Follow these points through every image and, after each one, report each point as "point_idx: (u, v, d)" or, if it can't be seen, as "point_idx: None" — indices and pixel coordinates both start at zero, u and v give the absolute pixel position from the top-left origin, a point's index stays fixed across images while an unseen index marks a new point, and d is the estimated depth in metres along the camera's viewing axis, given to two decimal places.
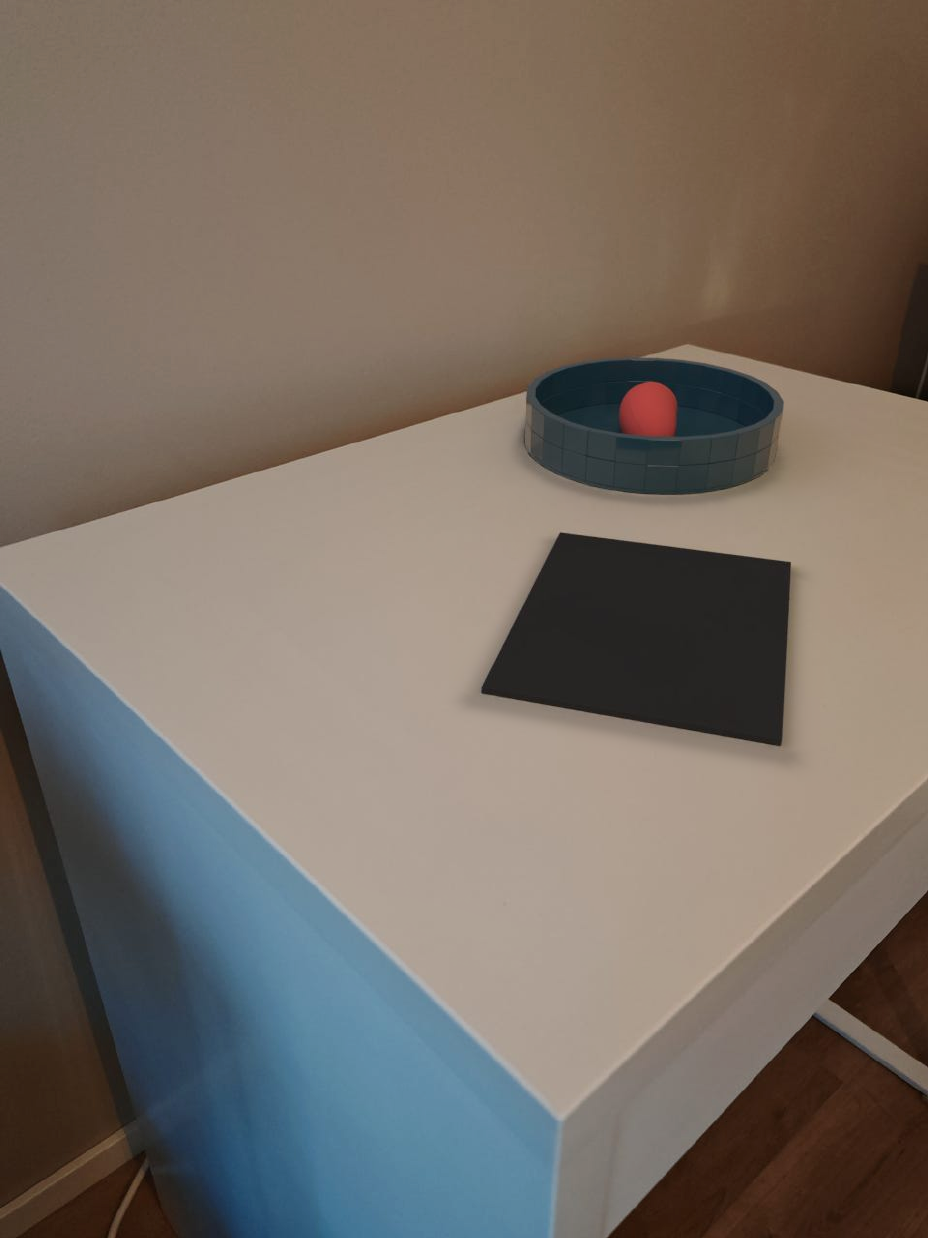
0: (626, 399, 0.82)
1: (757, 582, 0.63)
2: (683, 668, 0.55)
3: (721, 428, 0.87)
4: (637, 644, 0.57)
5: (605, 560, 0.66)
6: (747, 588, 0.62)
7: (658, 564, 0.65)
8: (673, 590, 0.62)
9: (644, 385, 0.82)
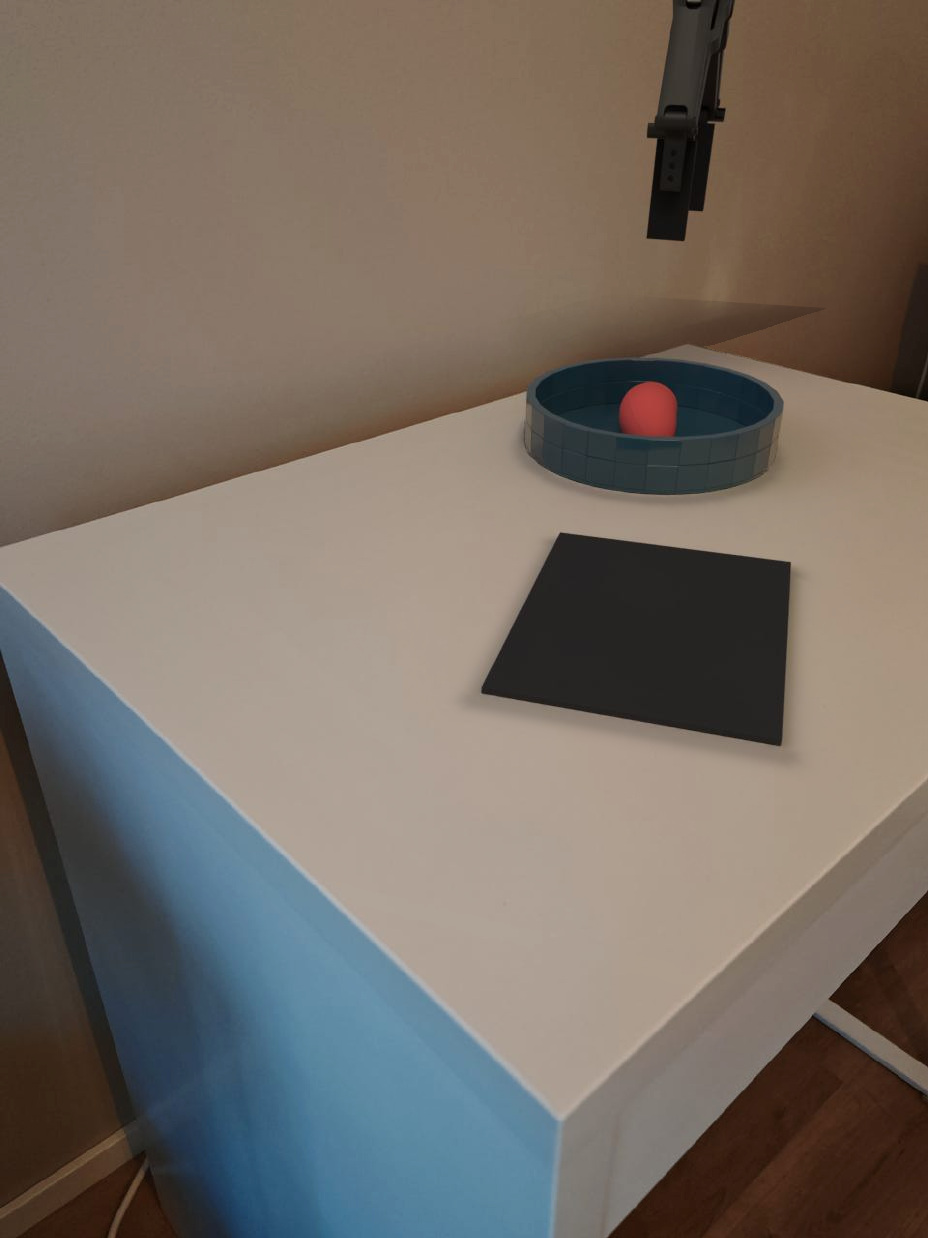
0: (626, 399, 0.82)
1: (757, 582, 0.63)
2: (683, 668, 0.55)
3: (721, 428, 0.87)
4: (637, 644, 0.57)
5: (605, 560, 0.66)
6: (747, 588, 0.62)
7: (658, 564, 0.65)
8: (673, 590, 0.62)
9: (644, 385, 0.82)
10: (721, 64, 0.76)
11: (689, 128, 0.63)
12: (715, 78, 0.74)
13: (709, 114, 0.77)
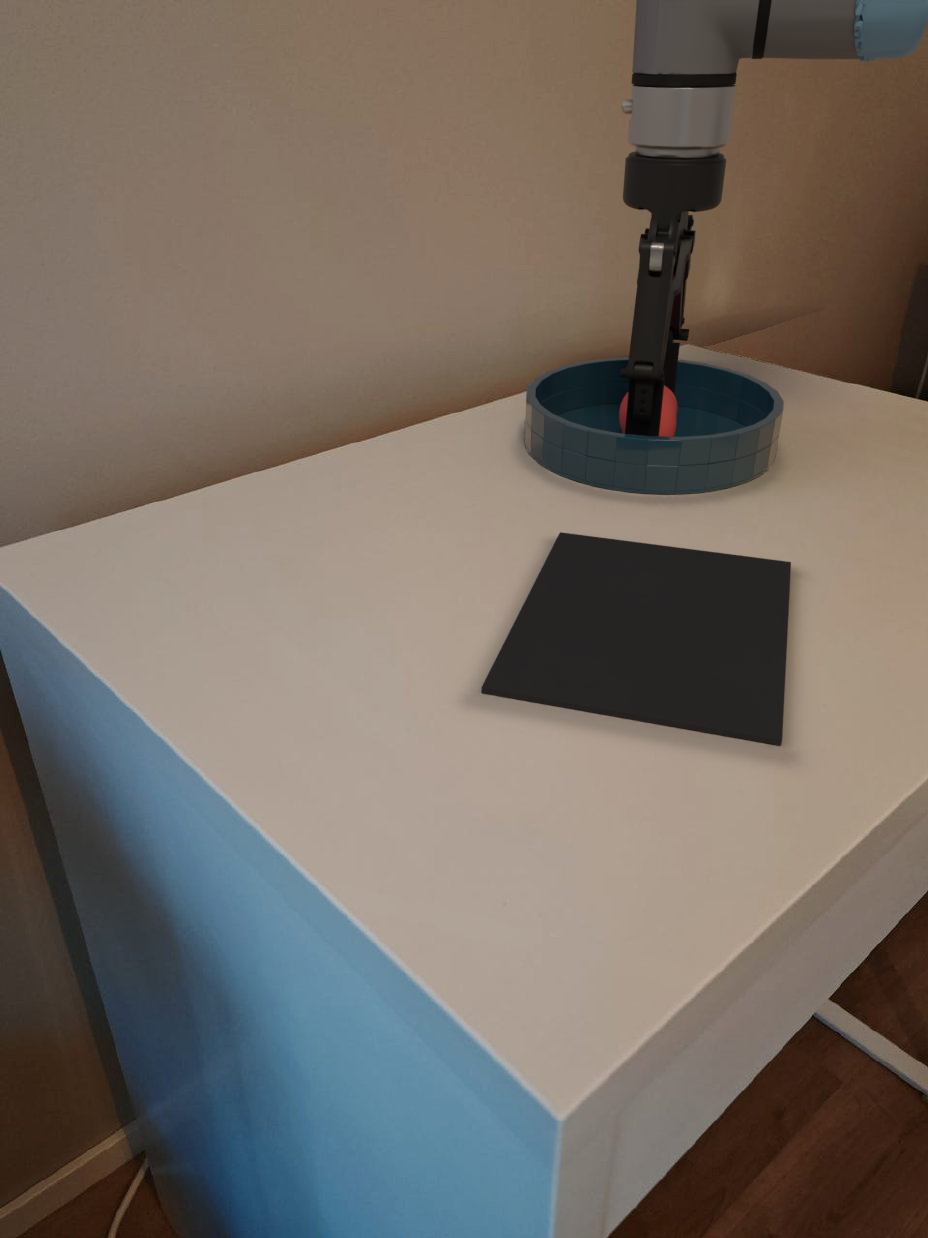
0: (626, 399, 0.82)
1: (757, 582, 0.63)
2: (683, 668, 0.55)
3: (721, 428, 0.87)
4: (637, 644, 0.57)
5: (605, 560, 0.66)
6: (747, 588, 0.62)
7: (658, 564, 0.65)
8: (673, 590, 0.62)
9: None
10: (684, 288, 0.84)
11: (656, 378, 0.74)
12: (679, 303, 0.82)
13: (674, 335, 0.85)
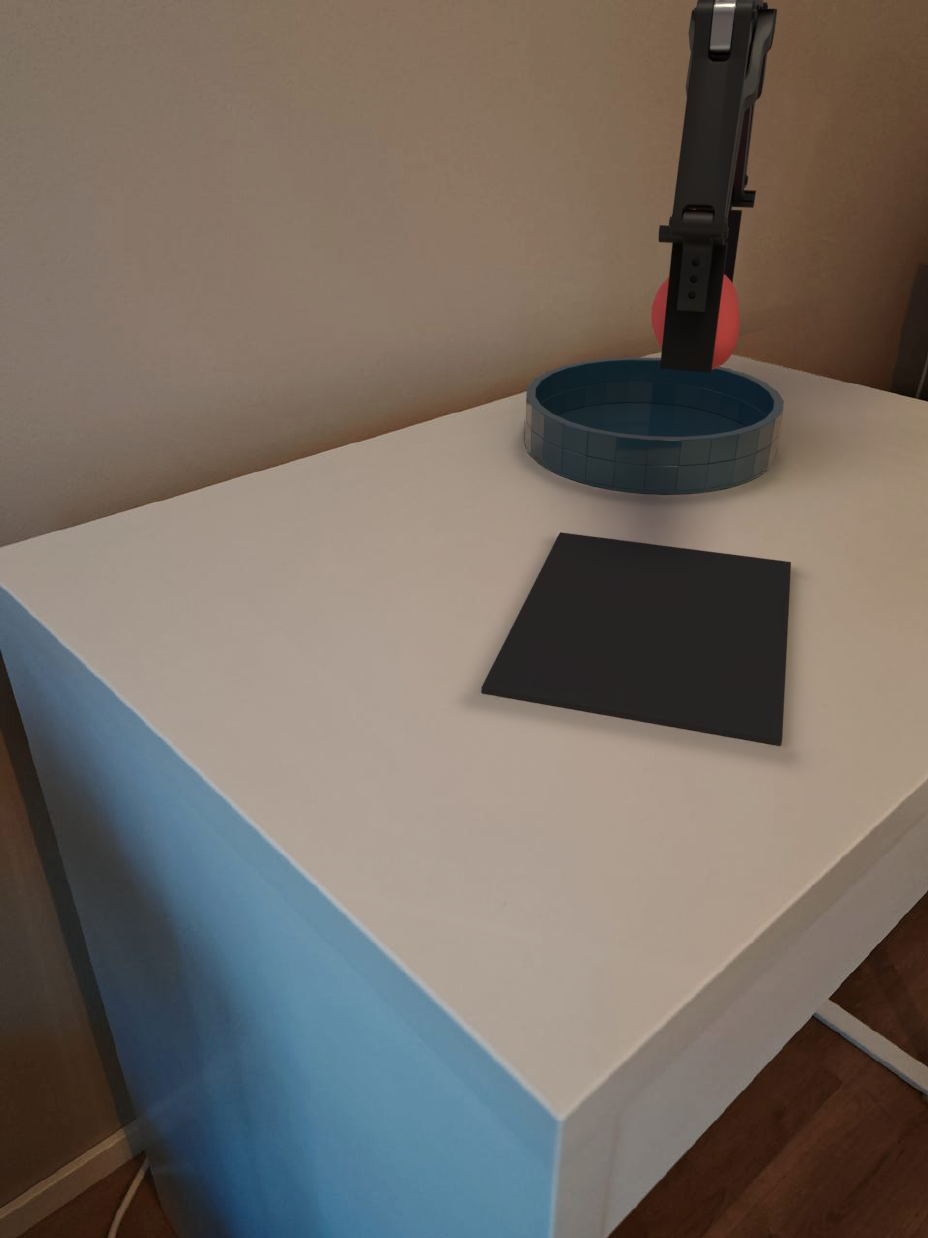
0: (664, 289, 0.54)
1: (757, 582, 0.63)
2: (683, 668, 0.55)
3: (721, 428, 0.87)
4: (637, 644, 0.57)
5: (605, 560, 0.66)
6: (747, 588, 0.62)
7: (658, 564, 0.65)
8: (673, 590, 0.62)
9: None
10: (751, 125, 0.56)
11: (717, 235, 0.46)
12: (744, 142, 0.54)
13: (734, 198, 0.57)
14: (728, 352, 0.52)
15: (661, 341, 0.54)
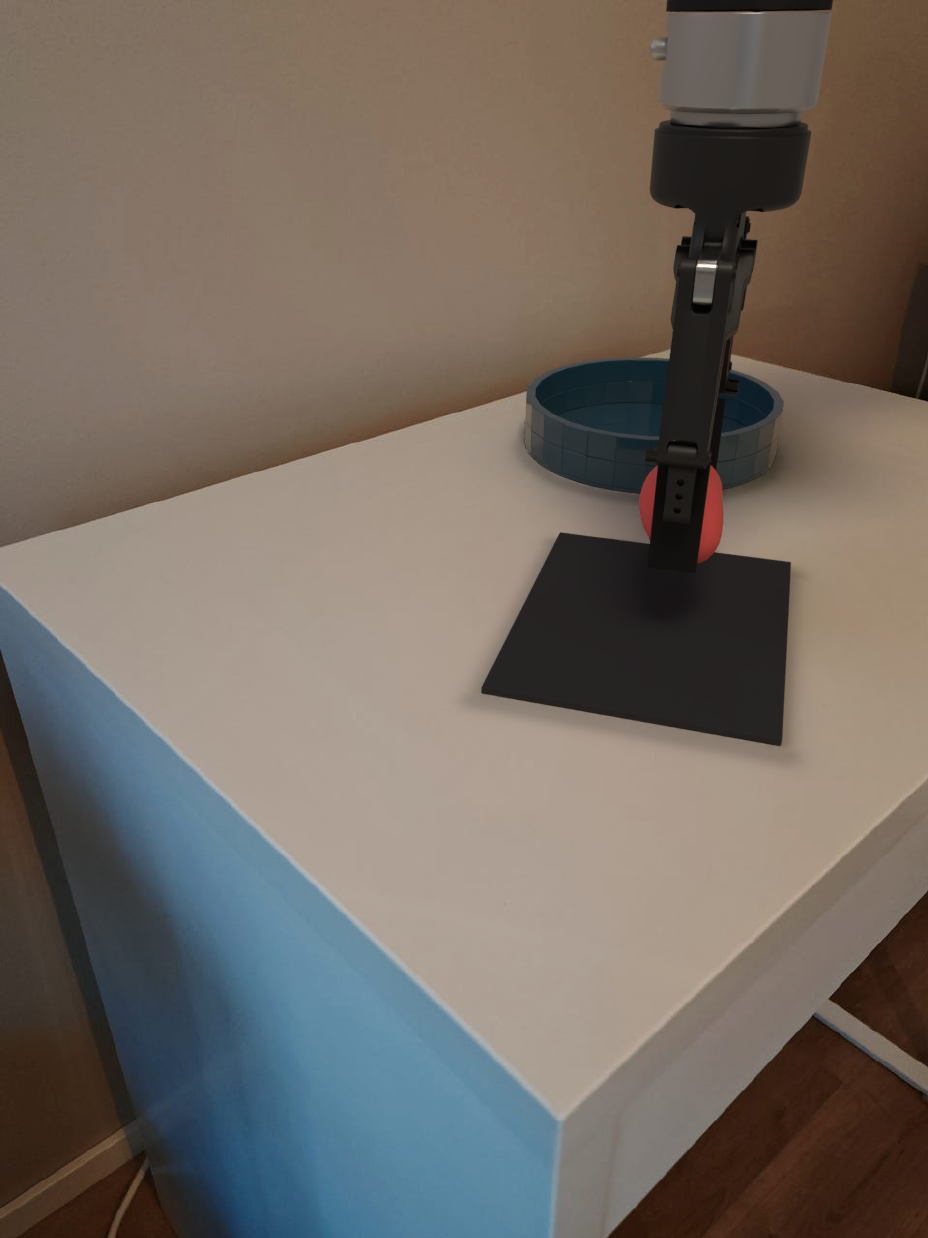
0: (651, 484, 0.57)
1: (757, 582, 0.63)
2: (683, 668, 0.55)
3: None
4: (637, 644, 0.57)
5: (605, 560, 0.66)
6: (747, 588, 0.62)
7: None
8: (673, 590, 0.62)
9: None
10: None
11: (701, 467, 0.48)
12: (728, 345, 0.56)
13: (718, 388, 0.59)
14: (712, 550, 0.55)
15: (648, 535, 0.56)
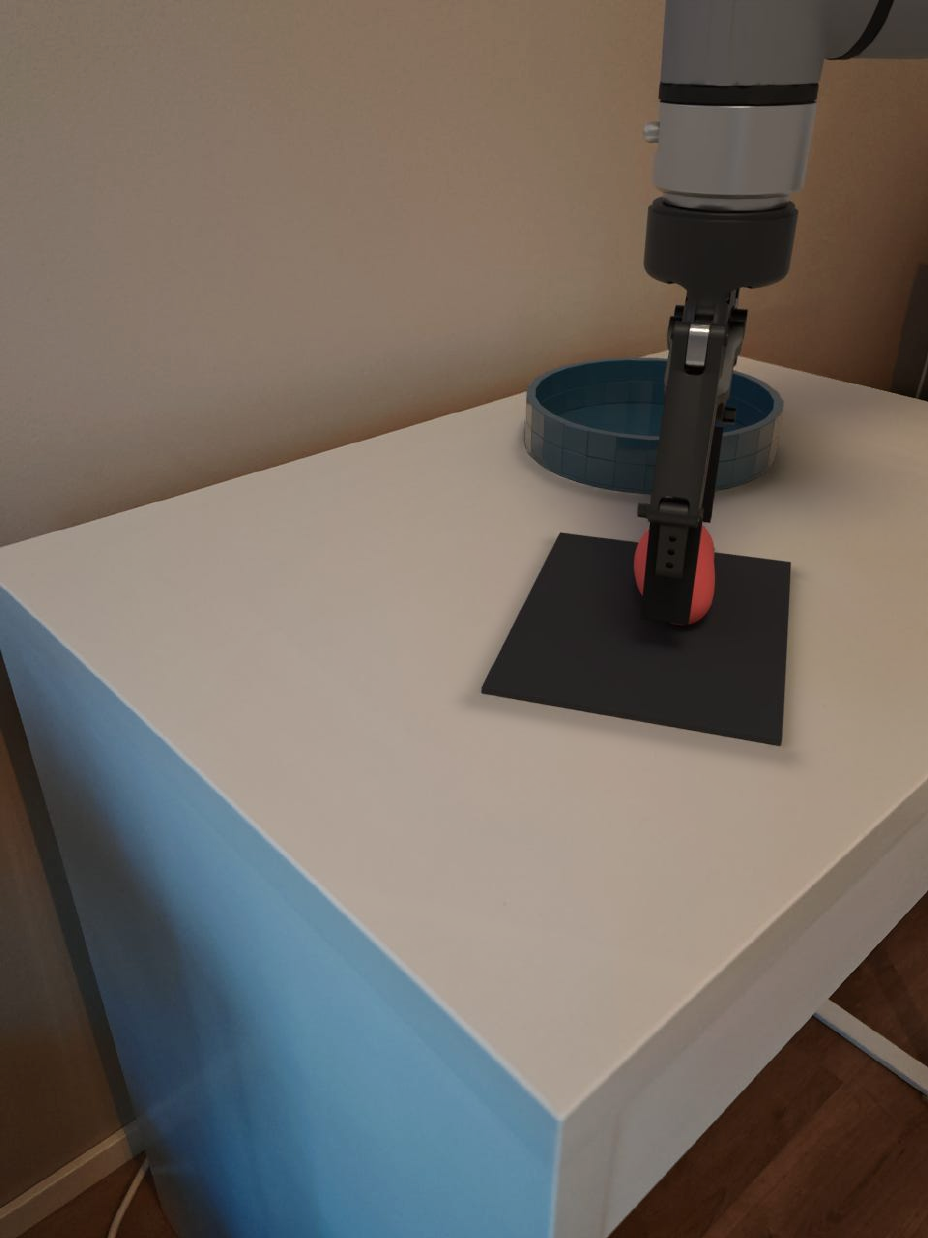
0: (645, 546, 0.59)
1: (757, 582, 0.63)
2: (683, 668, 0.55)
3: None
4: (637, 644, 0.57)
5: (605, 560, 0.66)
6: (747, 588, 0.62)
7: None
8: None
9: None
10: None
11: (692, 525, 0.48)
12: None
13: (716, 418, 0.62)
14: (704, 612, 0.57)
15: None
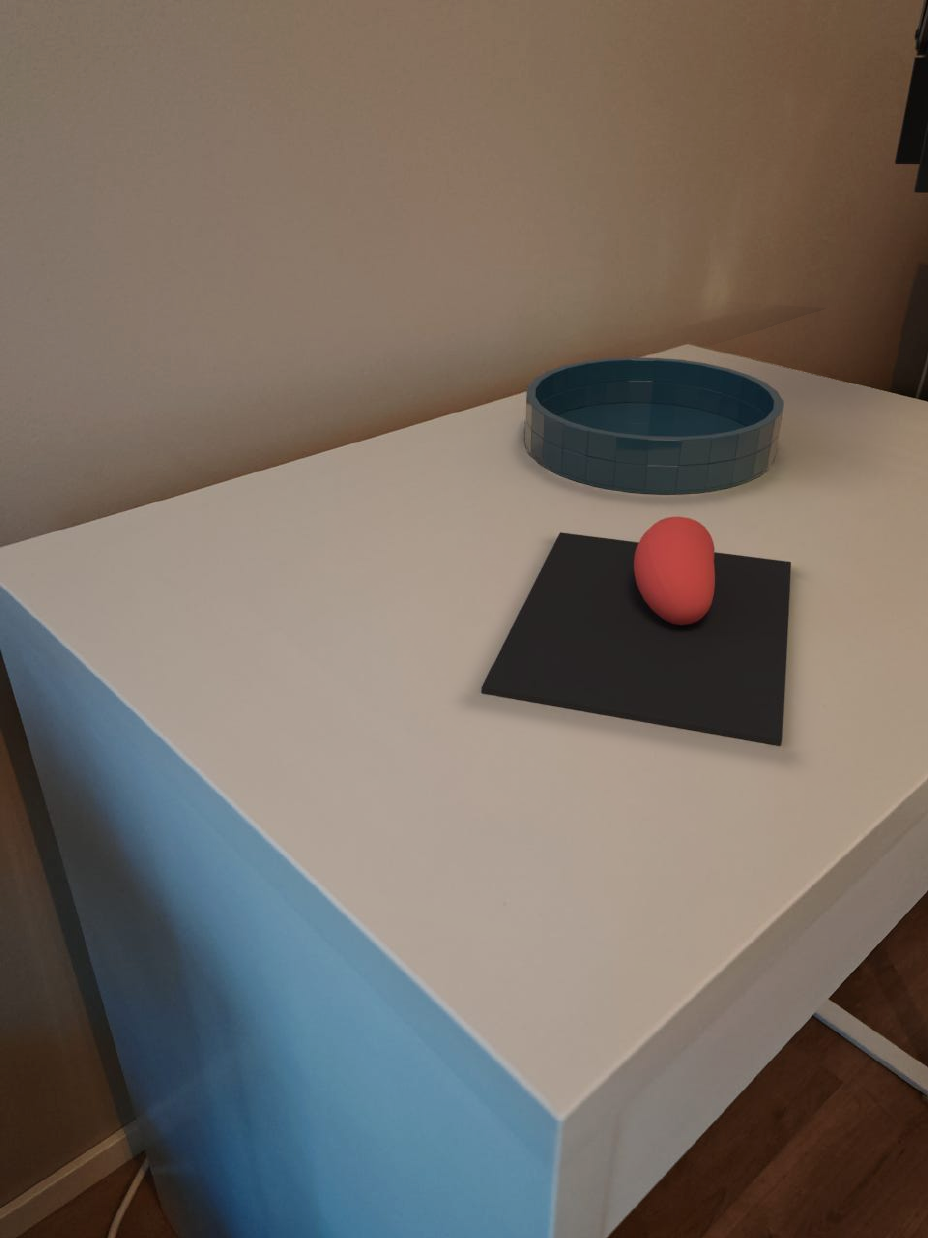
0: (645, 546, 0.59)
1: (757, 582, 0.63)
2: (683, 668, 0.55)
3: (721, 428, 0.87)
4: (637, 644, 0.57)
5: (605, 560, 0.66)
6: (747, 588, 0.62)
7: None
8: None
9: (669, 526, 0.59)
10: None
11: None
12: None
13: None
14: (704, 612, 0.57)
15: (643, 595, 0.59)
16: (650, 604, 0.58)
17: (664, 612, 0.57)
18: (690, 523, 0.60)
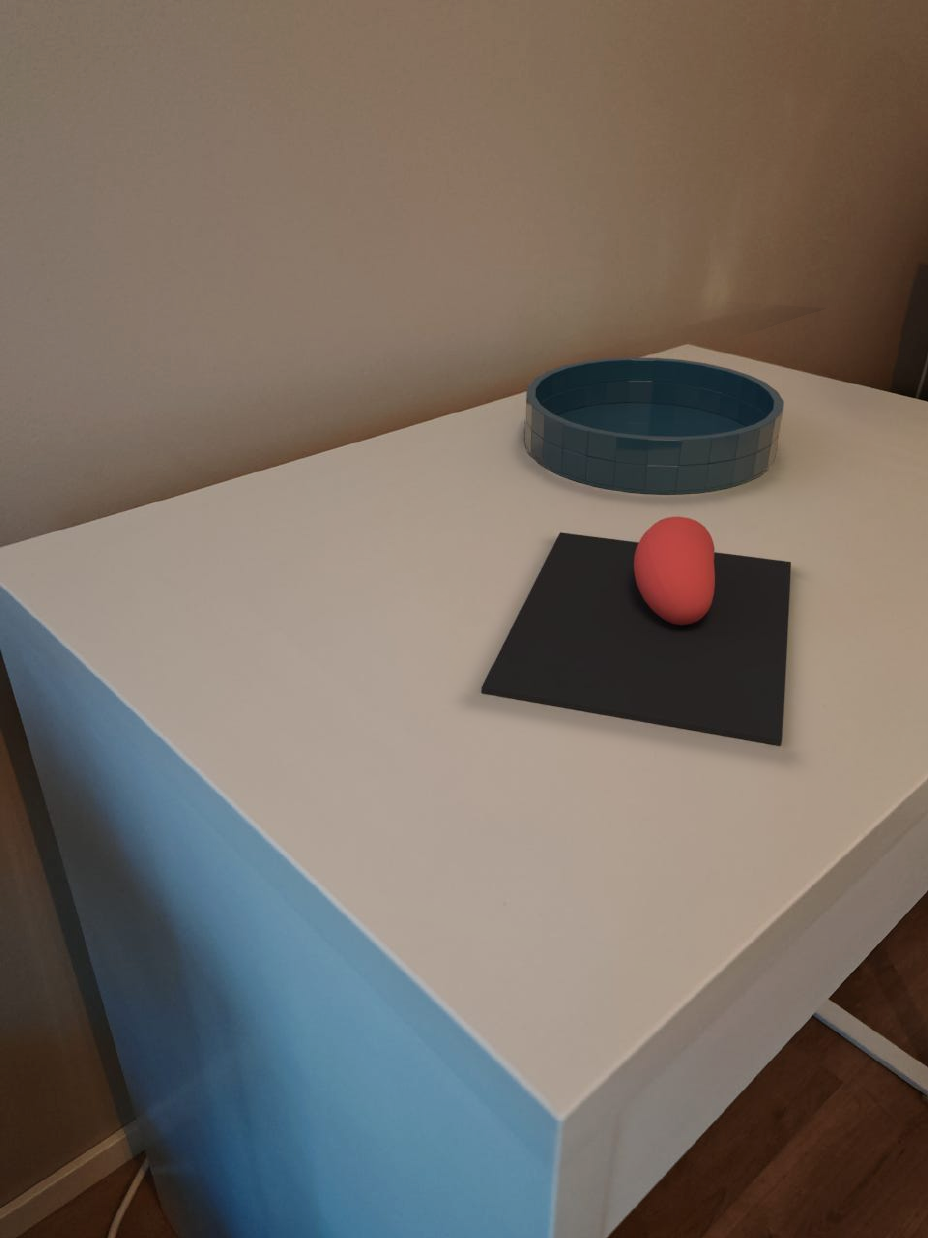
0: (645, 546, 0.59)
1: (757, 582, 0.63)
2: (683, 668, 0.55)
3: (721, 428, 0.87)
4: (637, 644, 0.57)
5: (605, 560, 0.66)
6: (747, 588, 0.62)
7: None
8: None
9: (669, 526, 0.59)
10: None
11: None
12: None
13: None
14: (704, 612, 0.57)
15: (643, 595, 0.59)
16: (650, 604, 0.58)
17: (664, 612, 0.57)
18: (690, 523, 0.60)
